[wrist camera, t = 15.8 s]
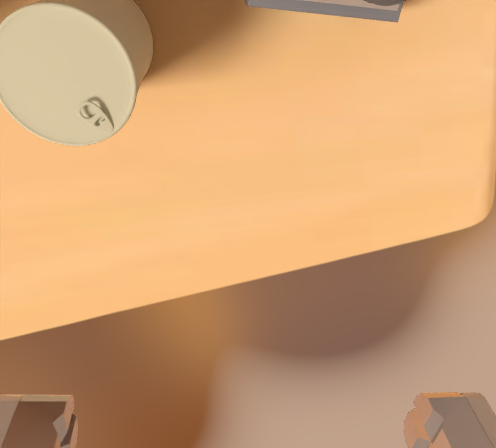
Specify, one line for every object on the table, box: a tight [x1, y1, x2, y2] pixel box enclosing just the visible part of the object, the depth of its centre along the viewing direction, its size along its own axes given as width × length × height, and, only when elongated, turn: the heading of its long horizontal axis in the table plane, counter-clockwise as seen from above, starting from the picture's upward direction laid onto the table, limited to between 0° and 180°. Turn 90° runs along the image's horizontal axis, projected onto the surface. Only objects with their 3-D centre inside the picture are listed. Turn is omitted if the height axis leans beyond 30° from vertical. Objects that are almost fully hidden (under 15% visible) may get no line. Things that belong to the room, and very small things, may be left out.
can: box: [0, 0, 153, 146], centre depth 34 cm, size 9×9×12 cm
